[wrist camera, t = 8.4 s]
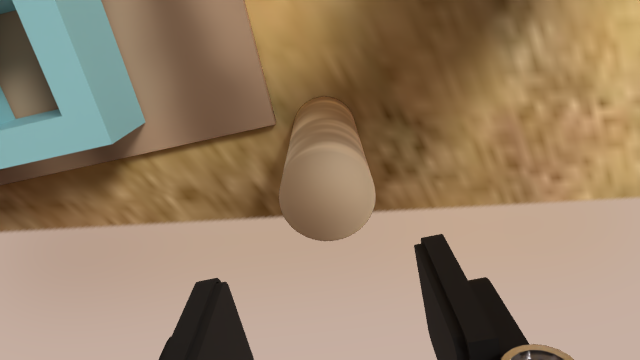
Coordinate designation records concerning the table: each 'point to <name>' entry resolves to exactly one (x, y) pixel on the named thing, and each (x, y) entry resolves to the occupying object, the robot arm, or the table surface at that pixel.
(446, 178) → the table surface
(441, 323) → the robot arm
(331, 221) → the dowel
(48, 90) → the backstop board
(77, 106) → the hole block
